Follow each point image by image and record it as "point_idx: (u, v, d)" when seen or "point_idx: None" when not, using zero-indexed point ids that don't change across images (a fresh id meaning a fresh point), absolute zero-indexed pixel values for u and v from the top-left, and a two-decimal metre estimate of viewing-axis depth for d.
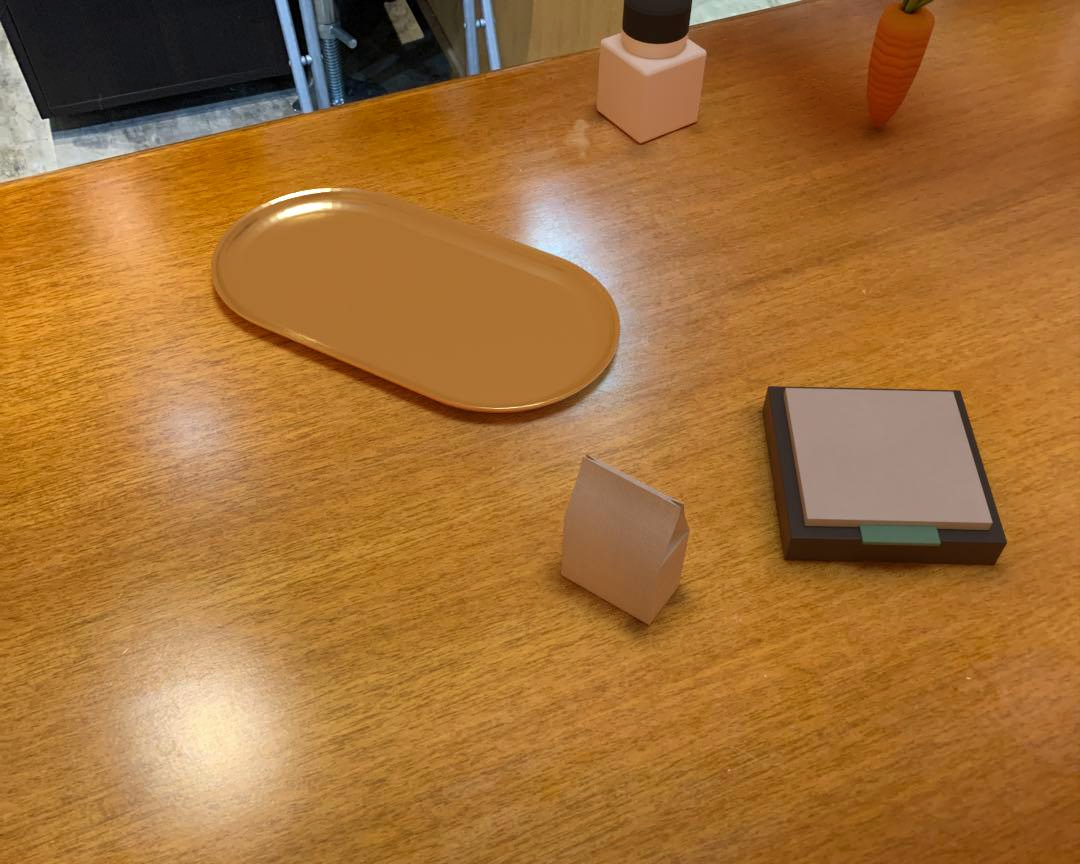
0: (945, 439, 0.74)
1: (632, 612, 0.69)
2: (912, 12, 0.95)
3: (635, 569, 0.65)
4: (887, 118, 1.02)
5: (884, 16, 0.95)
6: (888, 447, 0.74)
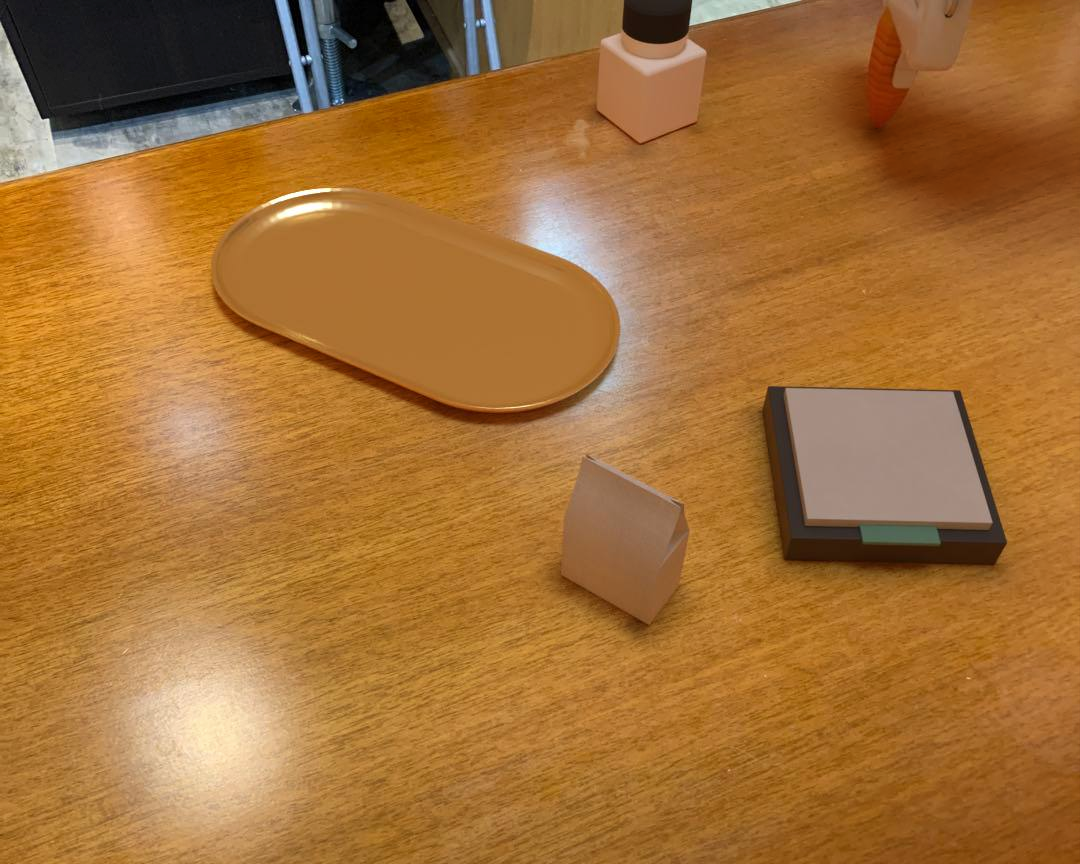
0: (945, 439, 0.74)
1: (632, 612, 0.69)
2: None
3: (635, 569, 0.65)
4: (887, 118, 1.02)
5: (884, 16, 0.95)
6: (888, 447, 0.74)
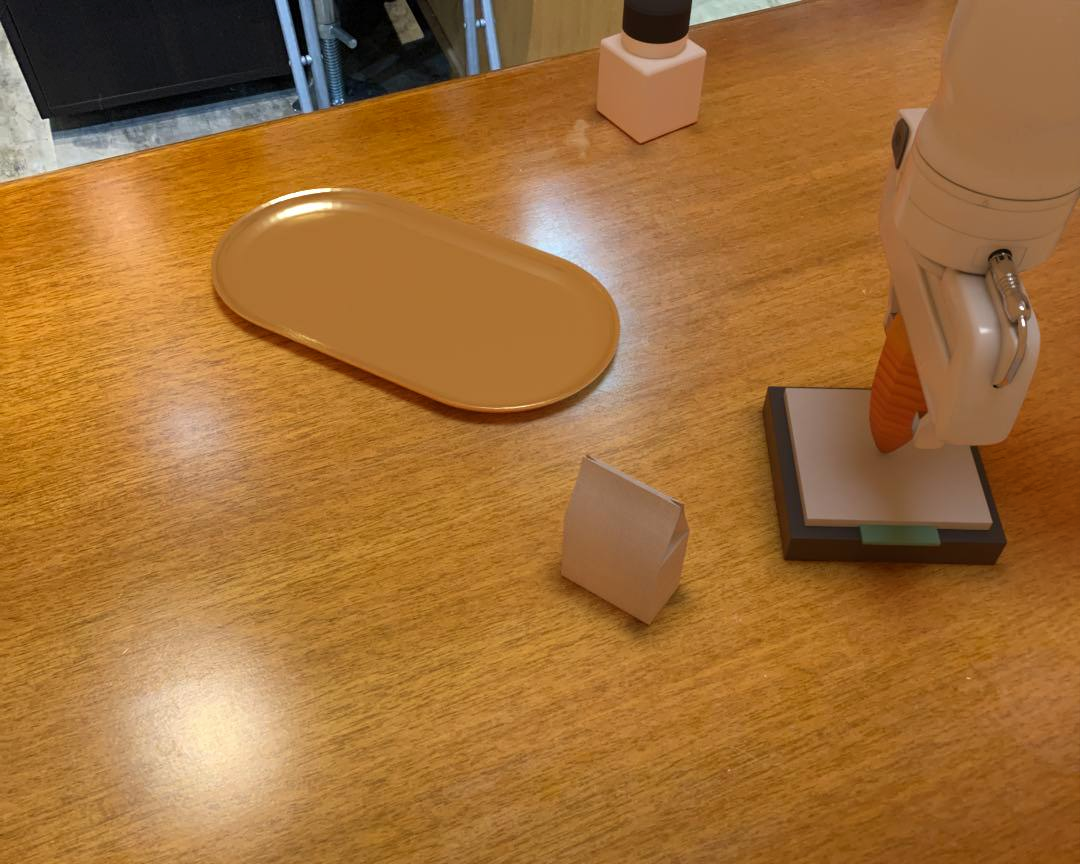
0: None
1: (632, 612, 0.69)
2: None
3: (635, 569, 0.65)
4: (898, 446, 0.72)
5: (895, 332, 0.65)
6: None
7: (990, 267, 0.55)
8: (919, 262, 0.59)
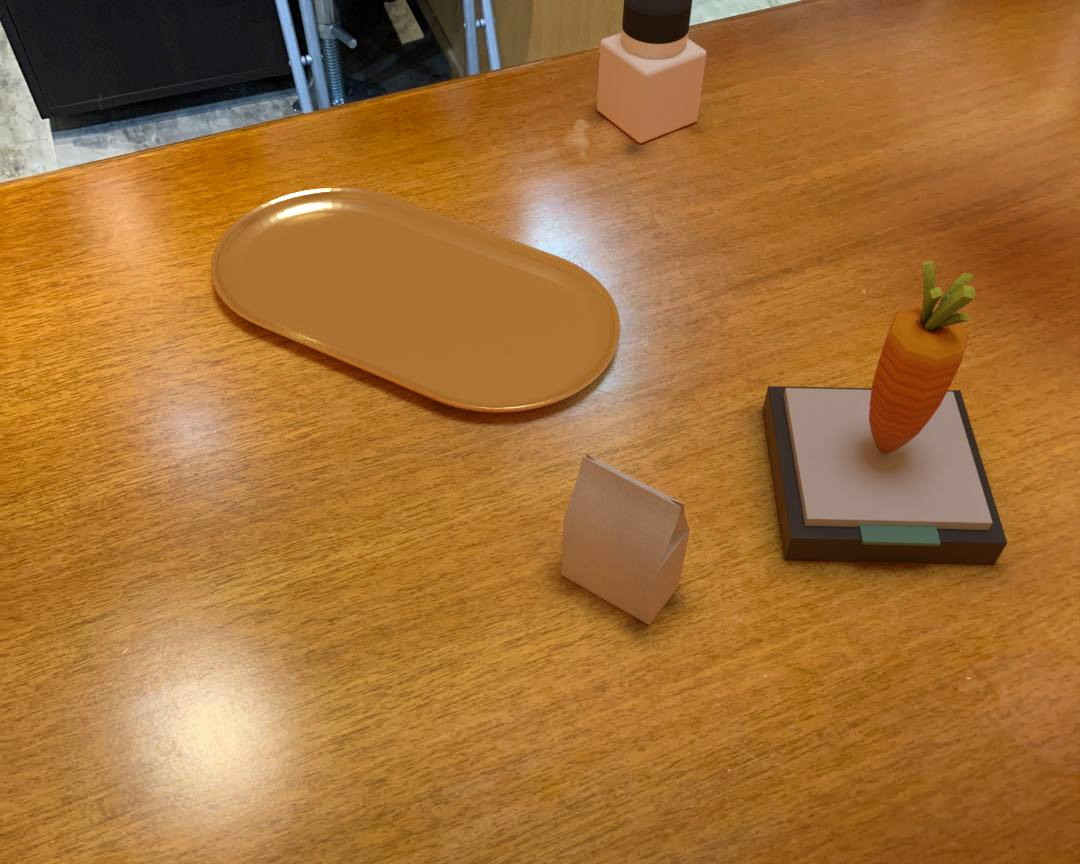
0: (945, 439, 0.74)
1: (632, 612, 0.69)
2: (936, 329, 0.65)
3: (635, 569, 0.65)
4: (898, 446, 0.72)
5: (895, 332, 0.65)
6: None
7: None
8: None
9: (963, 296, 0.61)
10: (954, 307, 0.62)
